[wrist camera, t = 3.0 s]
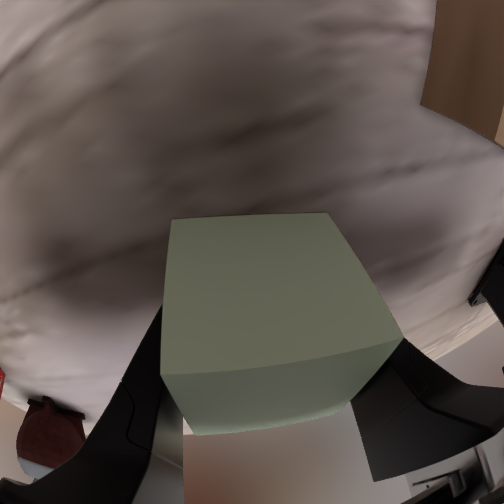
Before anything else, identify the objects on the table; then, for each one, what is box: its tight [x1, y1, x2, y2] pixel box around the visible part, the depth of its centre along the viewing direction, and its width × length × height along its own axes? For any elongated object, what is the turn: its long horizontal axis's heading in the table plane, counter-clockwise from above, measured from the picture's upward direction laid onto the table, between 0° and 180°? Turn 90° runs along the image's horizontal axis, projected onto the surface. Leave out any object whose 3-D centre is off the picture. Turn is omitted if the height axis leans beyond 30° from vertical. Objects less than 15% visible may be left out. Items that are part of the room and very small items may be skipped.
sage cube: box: [160, 213, 404, 435], centre depth 8 cm, size 5×5×5 cm
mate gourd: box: [16, 396, 86, 483], centre depth 12 cm, size 8×8×15 cm
